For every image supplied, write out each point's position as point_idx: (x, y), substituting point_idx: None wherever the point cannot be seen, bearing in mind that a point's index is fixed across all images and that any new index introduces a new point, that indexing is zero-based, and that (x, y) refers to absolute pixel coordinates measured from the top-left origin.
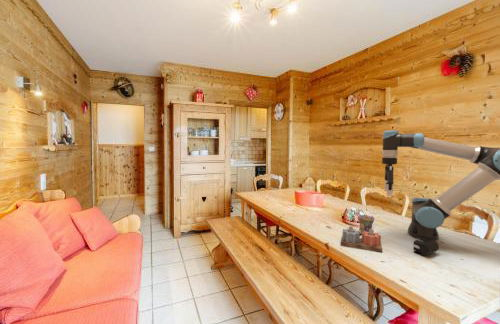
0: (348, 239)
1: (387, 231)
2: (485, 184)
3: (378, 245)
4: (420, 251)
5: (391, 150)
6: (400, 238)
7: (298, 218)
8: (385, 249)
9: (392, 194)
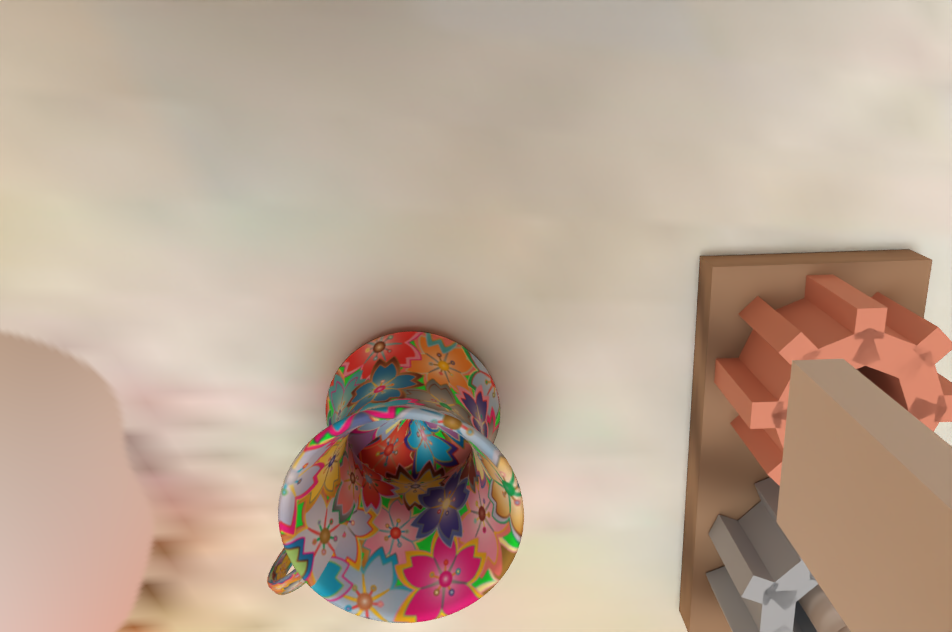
0: None
1: (170, 154)
2: None
3: (886, 297)
4: None
5: None
6: (373, 11)
7: None
8: (815, 212)
9: (870, 382)
